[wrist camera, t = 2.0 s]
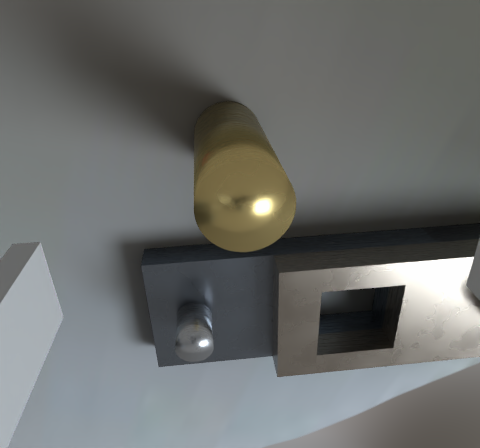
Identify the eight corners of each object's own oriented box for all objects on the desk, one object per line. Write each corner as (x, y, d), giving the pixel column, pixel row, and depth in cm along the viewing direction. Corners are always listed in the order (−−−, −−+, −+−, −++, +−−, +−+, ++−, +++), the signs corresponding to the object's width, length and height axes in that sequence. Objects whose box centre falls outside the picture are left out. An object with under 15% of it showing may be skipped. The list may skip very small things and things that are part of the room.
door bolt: (160, 347, 32) (152, 428, 26) (144, 249, 28) (130, 318, 22) (478, 317, 34) (540, 386, 28) (509, 221, 30) (590, 278, 24)
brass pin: (197, 168, 26) (198, 255, 17) (191, 103, 24) (189, 163, 15) (261, 164, 26) (294, 248, 17) (260, 99, 24) (298, 156, 15)
